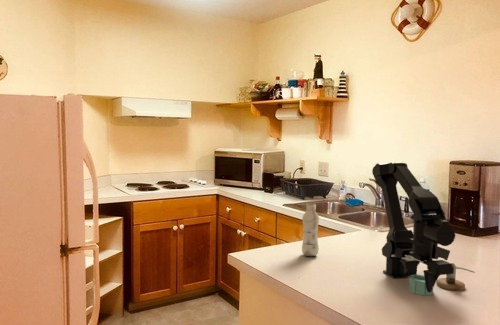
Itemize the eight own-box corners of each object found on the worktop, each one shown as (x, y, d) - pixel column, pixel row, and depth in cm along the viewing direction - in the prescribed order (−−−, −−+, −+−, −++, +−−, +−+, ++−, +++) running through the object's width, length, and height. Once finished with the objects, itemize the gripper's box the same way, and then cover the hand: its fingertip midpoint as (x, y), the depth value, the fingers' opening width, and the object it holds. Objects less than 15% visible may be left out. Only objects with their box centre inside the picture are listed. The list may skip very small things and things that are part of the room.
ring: (419, 296, 114) (420, 282, 114) (405, 288, 121) (405, 275, 120) (437, 293, 116) (438, 280, 116) (422, 285, 122) (422, 273, 122)
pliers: (453, 271, 132) (420, 258, 146) (453, 276, 133) (419, 262, 147) (475, 268, 136) (440, 256, 150) (474, 273, 136) (440, 260, 150)
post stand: (450, 291, 118) (451, 268, 117) (430, 282, 126) (431, 260, 125) (471, 289, 120) (472, 265, 120) (450, 279, 128) (451, 258, 127)
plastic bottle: (321, 255, 153) (323, 204, 151) (312, 259, 148) (313, 206, 146) (308, 252, 157) (309, 202, 156) (298, 255, 152) (299, 204, 151)
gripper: (470, 243, 111) (467, 296, 112) (423, 228, 129) (421, 274, 130) (438, 245, 108) (436, 301, 109) (394, 230, 125) (392, 277, 126)
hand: (421, 287), depth 118 cm, fingers closed on ring, 6 cm apart
